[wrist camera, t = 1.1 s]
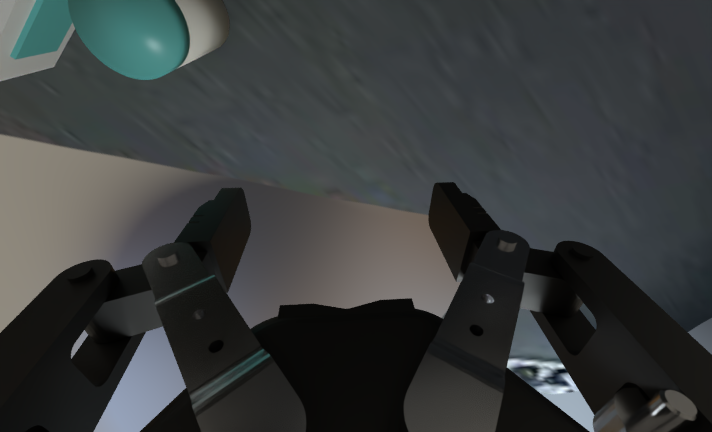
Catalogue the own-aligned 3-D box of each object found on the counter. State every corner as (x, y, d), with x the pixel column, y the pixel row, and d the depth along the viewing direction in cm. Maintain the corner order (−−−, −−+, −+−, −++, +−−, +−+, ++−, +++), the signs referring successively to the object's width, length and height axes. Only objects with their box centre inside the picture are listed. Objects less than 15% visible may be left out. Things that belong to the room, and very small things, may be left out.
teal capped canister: (149, -7, 23) (41, -9, 14) (204, -34, 22) (128, -53, 14) (191, 60, 26) (124, 92, 17) (241, 37, 25) (197, 60, 17)
